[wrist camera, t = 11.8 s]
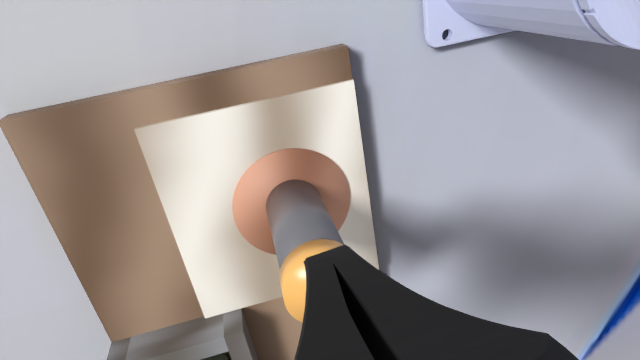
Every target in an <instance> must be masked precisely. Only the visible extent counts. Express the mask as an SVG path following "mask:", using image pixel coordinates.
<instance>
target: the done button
mask: <svg viewBox="0 0 640 360" xmlns="http://www.w3.org/2000/svg"><path fill="white" fill-rule="evenodd" d="M201 360H229V359H228V357H227V356H226V355H225V354H224V353H221V354H218V355H214V356H211V357H207V358H204V359H201Z"/></svg>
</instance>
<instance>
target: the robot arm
mask: <svg viewBox="0 0 640 360" xmlns="http://www.w3.org/2000/svg"><path fill="white" fill-rule="evenodd" d="M422 3H423V20H424V37H425V42H426V43H427V45H428V46H431V47H434V48H438V47H442V46H447V45H452V44H456V43H461V42H465V41H470V40H474V39H479V38H484V37H488V36H493V35H497V34H502V33H506V32H511V31H515V30H518V31H524V32H531V33H537V34H544V35H550V36H556V37H563V38H569V39H576V40H582V41H589V42H595V43H601V44H608V45H614V46H621V47H626V48H631V49H637V50H640V0H422ZM446 29H447V30H448V37H447V38H446V39H443V38H442V33H443V32H444V30H446ZM304 265H305V270H306V299H305V310H304V316H303V323H302V329H301V334H300V339H299V343H298V347H297V351H296V354H295V358H294V360H578V359H577V358H576V357H575V356H574V355H573V354H572V353H571V352H570V351H569V350H567V349H566V348H565V347H564V346H563V345H561V344H560V343H559V342H558V341H556V340H555V339H554V338H552V337H551V336H550V335H549V334H547V333H542V332H537V331H532V330H526V329H521V328H516V327H511V326H506V325H502V324H498V323H495V322H491V321H487V320H483V319H480V318H477V317H474V316H470V315H468V314H465V313H462V312H459V311H456V310H453V309H451V308H448V307H445V306H443V305H441V304H438V303H436V302H434V301H432V300H430V299H427V298H425V297H423V296H421V295H419V294H417V293H416V292H414V291H412V290H410V289H408V288H407V287H405V286H403V285H401V284H400V283H398V282H396V281H395V280H393V279H392V278H390V277H389V276H387V275H386V274H384V273H383V272H381V271H380V270H378V269H377V268H375V267H374V266H373V265H371V264H370V263H369V262H367V261H366V260H365V259H363V258H362V257H361V256H359V255H358V254H357V253H356V252H355V251H354V250H352V249H351V248H350V247H349V246H347V245H342V246H339V247H336V248H333V249H330V250H328V251H325V252H322V253H319V254H316V255H313V256H310V257H307V258H306V259H305V261H304Z"/></svg>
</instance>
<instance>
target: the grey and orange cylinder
mask: <svg viewBox="0 0 640 360" xmlns="http://www.w3.org/2000/svg"><path fill="white" fill-rule="evenodd" d="M266 212H267V216H268V221H269V225H270V229H271V234H272V238H273V242H274V247H275V251H276V256H277V260H278V264H279V269H280V273H279V281H280V285H281V290H282V294H283V299H284V303H285V307H286V309H287V311H288V312H289V313H290V315H291V316H292V317H294V318H295V319H296V320H298V321H300V322H302V323H303V316H304V310H305V299H306V270H305V265H304V261H305V259H306V258H307V257H310V256H313V255H316V254H319V253H322V252H325V251H328V250H330V249H333V248H336V247H339V246H342V245H344V243H343V241H342V239H341V237H340V235H339V233H338V231H337V229H336V227H335V225H334V223H333V221H332V219H331V217H330V215H329V213H328V211H327V209H326V207H325V205H324V202H323V200H322V198H321V196H320V194H319V192H318V191H317V189H316V188H315V187H314V186H313V185H312V184H310V183H309V182H306V181H304V180H298V179H293V180H288V181H285V182H282V183H280V184H279V185H277V186H276V187H275V188H274V189H273V190H272V191H271V192H270V194H269V196H268V198H267V201H266Z"/></svg>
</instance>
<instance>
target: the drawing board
mask: <svg viewBox="0 0 640 360" xmlns="http://www.w3.org/2000/svg"><path fill="white" fill-rule="evenodd" d="M0 127H1V129H2V131H3V133H4V135H5V137H6V139H7V140H8V142H9V144H10V146H11V148H12V150H13V152H14V154H15V156H16V158H17V160H18V162H19V164H20V166H21V168H22V169H23V171H24V173H25V175H26V177H27V179H28V181H29V183H30V185H31V187H32V189H33V191H34V193H35V195H36V197H37V199H38V200H39V202H40V204H41V206H42V208H43V210H44V212H45V214H46V216H47V218H48V220H49V222H50V224H51V226H52V228H53V229H54V231H55V233H56V235H57V237H58V239H59V241H60V243H61V245H62V247H63V249H64V251H65V253H66V255H67V257H68V258H69V260H70V262H71V264H72V266H73V268H74V270H75V272H76V274H77V276H78V278H79V280H80V282H81V284H82V286H83V288H84V289H85V291H86V293H87V295H88V297H89V299H90V301H91V303H92V305H93V307H94V309H95V311H96V313H97V315H98V317H99V318H100V320H101V322H102V324H103V326H104V328H105V330H106V332H107V334H108V336H109V338H110V340H111V342H112V343H111V347H110V350H109V354H108V357H107V360H201V359H204V358H207V357H211V356H214V355H218V354H221V353H224V354H225V355H226V356H227V357H228V359H229V360H294V358H295V354H296V351H297V347H298V343H299V339H300V334H301V329H302V322H300V321H298V320H296V319H295V318H294V317H292V316H291V315H290V313H289V312H288V311H287V309H286V307H285V303H284V299H283V294H282V290H281V285H280V281H279V273H280V269H279V264H278V260H277V256H276V251H275V247H274V242H273V238H272V234H271V229H270V225H269V221H268V216H267V212H266V201H267V198H268V196H269V194H270V192H271V191H272V190H273V189H274V188H275V187H276V186H277V185H279V184H280V183H282V182H285V181H288V180H293V179H298V180H304V181H306V182H309V183H310V184H312V185H313V186H314V187H315V188H316V189H317V191H318V192H319V194H320V196H321V198H322V200H323V202H324V205H325V207H326V209H327V211H328V213H329V215H330V217H331V219H332V221H333V223H334V225H335V227H336V229H337V231H338V233H339V235H340V237H341V239H342V241H343V243H344V245H347V246H349V247H350V248H351V249H352V250H354V251H355V252H356V253H357V254H358V255H359V256H361V257H362V258H363V259H365V260H366V261H367V262H369V263H370V264H371V265H373V266H374V267H375V268H377V269H378V270H379V265H378V257H377V250H376V242H375V235H374V227H373V220H372V212H371V205H370V198H369V190H368V183H367V175H366V168H365V160H364V153H363V145H362V138H361V130H360V123H359V115H358V108H357V100H356V93H355V85H354V80H353V79H352V71H351V64H350V56H349V49H348V46H346V45H344V44H340V45H335V46H330V47H326V48H321V49H316V50H311V51H307V52H302V53H297V54H293V55H288V56H283V57H278V58H274V59H269V60H264V61H259V62H255V63H250V64H245V65H241V66H236V67H231V68H226V69H222V70H217V71H212V72H208V73H203V74H198V75H193V76H189V77H184V78H179V79H175V80H170V81H165V82H160V83H156V84H151V85H146V86H141V87H137V88H132V89H127V90H123V91H118V92H113V93H108V94H104V95H99V96H94V97H90V98H85V99H80V100H75V101H71V102H66V103H61V104H57V105H52V106H47V107H42V108H38V109H33V110H28V111H23V112H19V113H14V114H9V115H7V116H5V117H4V118H2V119H1V120H0Z"/></svg>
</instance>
